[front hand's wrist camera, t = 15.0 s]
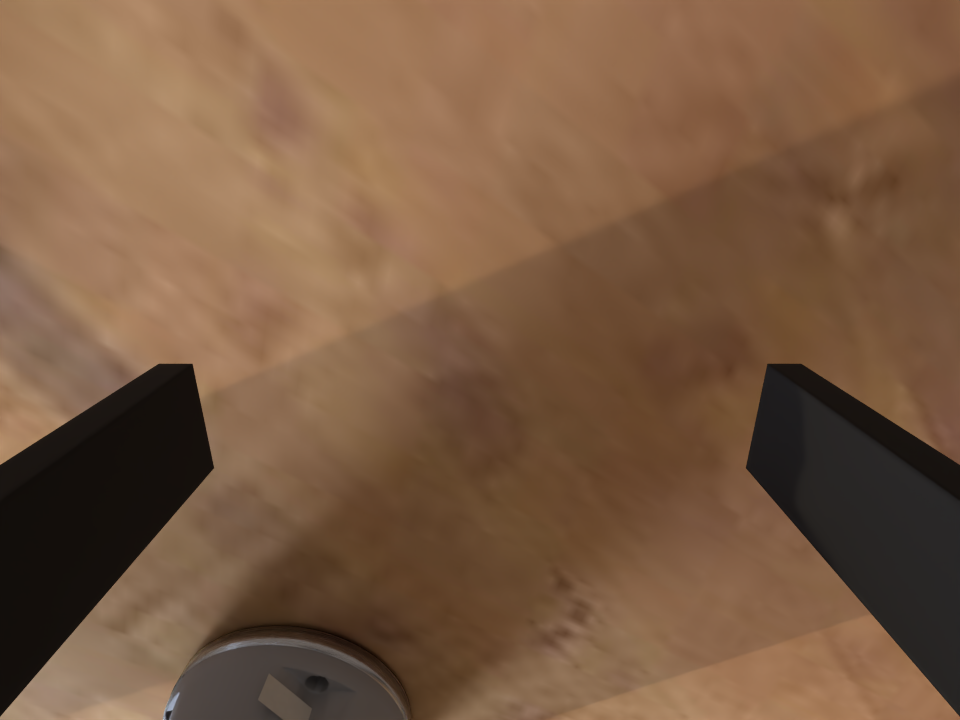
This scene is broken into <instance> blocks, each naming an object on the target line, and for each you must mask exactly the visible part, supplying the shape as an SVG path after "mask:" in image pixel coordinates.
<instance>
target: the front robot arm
mask: <svg viewBox="0 0 960 720" xmlns="http://www.w3.org/2000/svg"><path fill="white" fill-rule="evenodd" d="M213 469H214V465H213V461H212V456H211V451H210V446H209V441H208V437H207V432H206V427H205V422H204V417H203V412H202V408H201V403H200V398H199V393H198V388H197V383H196V379H195V374H194V369H193V364H158V365H156V366H155V367H153V368H152V369H150V370H148V371H147V372H145V373H144V374H142V375H141V376H139V377H137V378H136V379H134V380H133V381H131V382H130V383H128V384H127V385H125V386H123V387H122V388H120V389H119V390H117V391H116V392H114V393H112V394H111V395H109V396H108V397H106V398H105V399H103V400H101V401H100V402H98V403H97V404H95V405H94V406H92V407H90V408H89V409H87V410H86V411H84V412H83V413H81V414H79V415H78V416H76V417H75V418H73V419H72V420H70V421H69V422H67V423H65V424H64V425H62V426H61V427H59V428H58V429H56V430H54V431H53V432H51V433H50V434H48V435H47V436H45V437H43V438H42V439H40V440H39V441H37V442H36V443H34V444H32V445H31V446H29V447H28V448H26V449H25V450H23V451H22V452H20V453H18V454H17V455H15V456H14V457H12V458H11V459H9V460H7V461H6V462H4V463H3V464H1V465H0V716H1V715H2V714H3V713H4V711H5V710H6V709H7V708H8V707H9V706H10V704H11V703H12V702H13V701H14V700H15V699H16V698H17V696H18V695H19V694H20V693H21V692H22V691H23V689H24V688H25V687H26V686H27V685H28V684H29V682H30V681H31V680H32V679H33V678H34V677H35V675H36V674H37V673H38V672H39V671H40V670H41V668H42V667H43V666H44V665H45V664H46V663H47V662H48V660H49V659H50V658H51V657H52V656H53V655H54V653H55V652H56V651H57V650H58V649H59V648H60V646H61V645H62V644H63V643H64V642H65V641H66V639H67V638H68V637H69V636H70V635H71V634H72V632H73V631H74V630H75V629H76V628H77V627H78V625H79V624H80V623H81V622H82V621H83V620H84V619H85V617H86V616H87V615H88V614H89V613H90V612H91V610H92V609H93V608H94V607H95V606H96V605H97V603H98V602H99V601H100V600H101V599H102V598H103V596H104V595H105V594H106V593H107V592H108V591H109V589H110V588H111V587H112V586H113V585H114V584H115V582H116V581H117V580H118V579H119V578H120V577H121V576H122V574H123V573H124V572H125V571H126V570H127V569H128V567H129V566H130V565H131V564H132V563H133V562H134V560H135V559H136V558H137V557H138V556H139V555H140V553H141V552H142V551H143V550H144V549H145V548H146V546H147V545H148V544H149V543H150V542H151V541H152V540H153V538H154V537H155V536H156V535H157V534H158V533H159V531H160V530H161V529H162V528H163V527H164V526H165V524H166V523H167V522H168V521H169V520H170V519H171V517H172V516H173V515H174V514H175V513H176V512H177V510H178V509H179V508H180V507H181V506H182V505H183V503H184V502H185V501H186V500H187V499H188V498H189V497H190V495H191V494H192V493H193V492H194V491H195V490H196V488H197V487H198V486H199V485H200V484H201V483H202V481H203V480H204V479H205V478H206V477H207V476H208V474H209V473H210V472H211V471H212V470H213ZM746 469H747V470H748V471H749V472H750V473H751V474H752V476H753V477H754V478H755V479H756V480H757V481H758V483H759V484H760V485H761V486H762V487H763V488H764V490H765V491H766V492H767V493H768V494H769V495H770V497H771V498H772V499H773V500H774V501H775V502H776V503H777V505H778V506H779V507H780V508H781V509H782V510H783V512H784V513H785V514H786V515H787V516H788V517H789V519H790V520H791V521H792V522H793V523H794V524H795V526H796V527H797V528H798V529H799V530H800V531H801V533H802V534H803V535H804V536H805V537H806V538H807V540H808V541H809V542H810V543H811V544H812V545H813V546H814V548H815V549H816V550H817V551H818V552H819V553H820V555H821V556H822V557H823V558H824V559H825V560H826V562H827V563H828V564H829V565H830V566H831V567H832V569H833V570H834V571H835V572H836V573H837V574H838V576H839V577H840V578H841V579H842V580H843V581H844V582H845V584H846V585H847V586H848V587H849V588H850V589H851V591H852V592H853V593H854V594H855V595H856V596H857V598H858V599H859V600H860V601H861V602H862V603H863V605H864V606H865V607H866V608H867V609H868V610H869V612H870V613H871V614H872V615H873V616H874V617H875V619H876V620H877V621H878V622H879V623H880V624H881V625H882V627H883V628H884V629H885V630H886V631H887V632H888V634H889V635H890V636H891V637H892V638H893V639H894V641H895V642H896V643H897V644H898V645H899V646H900V648H901V649H902V650H903V651H904V652H905V653H906V655H907V656H908V657H909V658H910V659H911V660H912V662H913V663H914V664H915V665H916V666H917V667H918V668H919V670H920V671H921V672H922V673H923V674H924V675H925V677H926V678H927V679H928V680H929V681H930V682H931V684H932V685H933V686H934V687H935V688H936V689H937V691H938V692H939V693H940V694H941V695H942V696H943V698H944V699H945V700H946V701H947V702H948V703H949V705H950V706H951V707H952V708H953V709H954V710H955V711H956V713H957V714H958V715H959V716H960V465H959V464H957V463H956V462H954V461H953V460H951V459H949V458H948V457H946V456H945V455H943V454H942V453H940V452H938V451H937V450H935V449H934V448H932V447H931V446H929V445H928V444H926V443H924V442H923V441H921V440H920V439H918V438H917V437H915V436H913V435H912V434H910V433H909V432H907V431H906V430H904V429H902V428H901V427H899V426H898V425H896V424H895V423H893V422H891V421H890V420H888V419H887V418H885V417H884V416H882V415H881V414H879V413H877V412H876V411H874V410H873V409H871V408H870V407H868V406H866V405H865V404H863V403H862V402H860V401H859V400H857V399H855V398H854V397H852V396H851V395H849V394H848V393H846V392H844V391H843V390H841V389H840V388H838V387H837V386H835V385H833V384H832V383H830V382H829V381H827V380H826V379H824V378H823V377H821V376H819V375H818V374H816V373H815V372H813V371H812V370H810V369H808V368H807V367H805V366H804V365H802V364H767V369H766V374H765V379H764V383H763V388H762V393H761V398H760V403H759V408H758V412H757V417H756V422H755V427H754V432H753V437H752V441H751V446H750V451H749V456H748V461H747V465H746ZM163 720H411V710H410V705H409V701H408V698H407V695H406V693H405V691H404V689H403V687H402V685H401V684H400V682H399V681H398V679H397V678H396V677H395V675H394V674H393V673H392V672H391V671H390V670H389V669H388V668H387V667H386V666H385V665H384V664H383V663H382V662H381V661H380V660H378V659H377V658H376V657H375V656H373V655H372V654H370V653H369V652H367V651H366V650H364V649H362V648H361V647H359V646H357V645H355V644H353V643H351V642H349V641H347V640H345V639H342V638H340V637H337V636H334V635H331V634H328V633H325V632H321V631H317V630H313V629H307V628H301V627H292V626H262V627H254V628H248V629H244V630H239V631H236V632H233V633H230V634H227V635H225V636H222V637H220V638H218V639H216V640H214V641H212V642H211V643H209V644H208V645H206V646H205V647H203V648H202V649H201V650H200V651H199V652H198V653H196V654H195V656H194V657H193V658H192V659H191V660H190V662H189V663H188V665H187V666H186V668H185V670H184V671H183V673H182V675H181V676H180V678H179V680H178V681H177V683H176V685H175V687H174V689H173V691H172V693H171V696H170V698H169V701H168V703H167V706H166V708H165V712H164V716H163Z"/></svg>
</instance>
